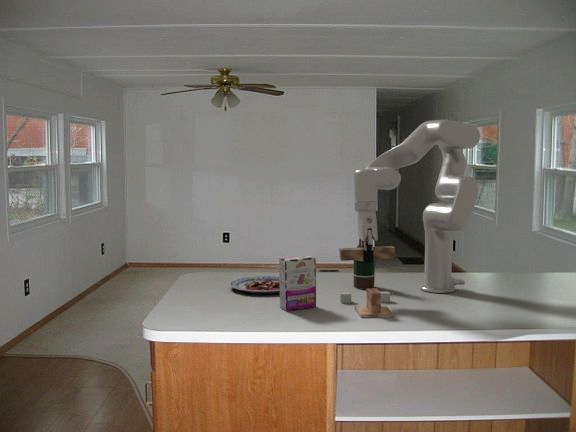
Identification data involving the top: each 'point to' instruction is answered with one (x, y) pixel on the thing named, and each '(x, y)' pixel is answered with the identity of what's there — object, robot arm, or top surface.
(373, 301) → the fulcrum
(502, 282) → the top surface
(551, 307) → the top surface
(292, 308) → the candy bar box
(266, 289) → the ceramic plate
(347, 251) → the walnut bar
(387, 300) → the grey cubes
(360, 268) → the beer bottle
